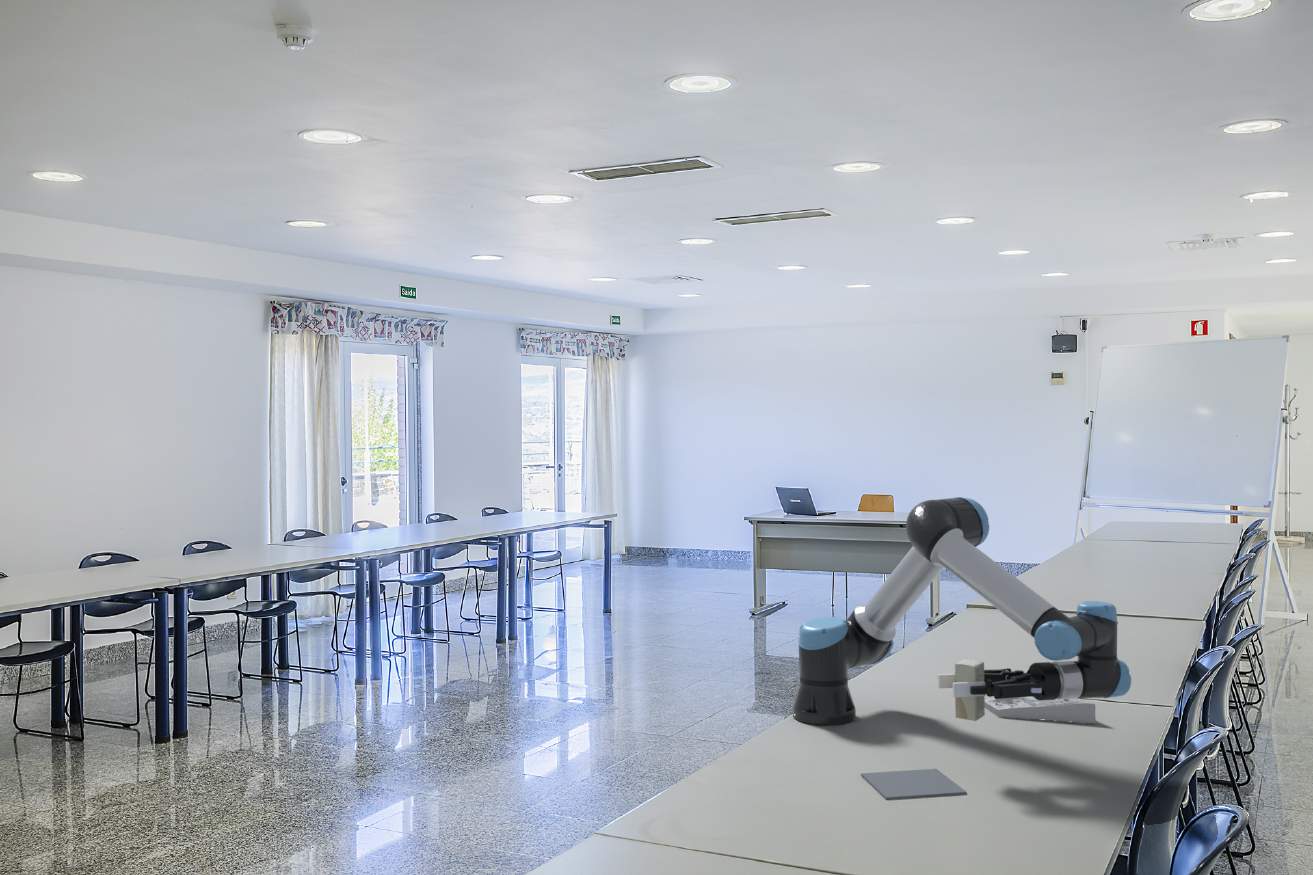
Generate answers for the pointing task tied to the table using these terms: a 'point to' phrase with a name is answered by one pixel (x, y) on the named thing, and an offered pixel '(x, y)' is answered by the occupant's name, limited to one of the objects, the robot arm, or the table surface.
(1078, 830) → the table surface
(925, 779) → the mat
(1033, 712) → the ramp
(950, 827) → the table surface
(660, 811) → the table surface
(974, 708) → the box
